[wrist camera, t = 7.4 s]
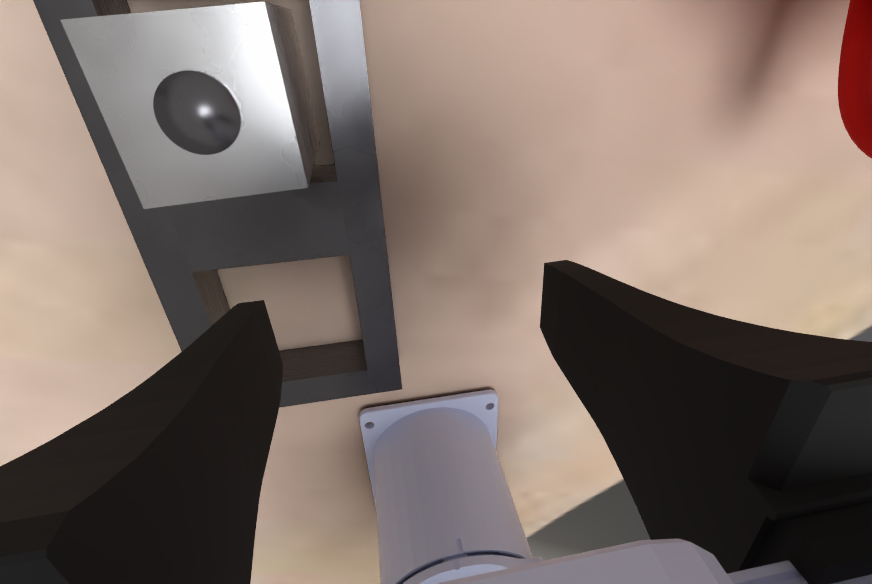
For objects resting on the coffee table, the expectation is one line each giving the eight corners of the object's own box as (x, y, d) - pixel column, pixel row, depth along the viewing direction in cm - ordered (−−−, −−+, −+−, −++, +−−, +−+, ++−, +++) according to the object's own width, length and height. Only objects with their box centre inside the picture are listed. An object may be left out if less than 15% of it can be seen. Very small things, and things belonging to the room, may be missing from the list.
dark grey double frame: (397, 358, 24) (402, 389, 22) (222, 383, 23) (209, 417, 21) (350, -69, 15) (350, -85, 13) (52, -62, 14) (0, -77, 12)
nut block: (319, 142, 18) (307, 189, 13) (203, 156, 18) (141, 210, 12) (291, 10, 16) (263, 1, 10) (157, 22, 15) (56, 19, 10)
